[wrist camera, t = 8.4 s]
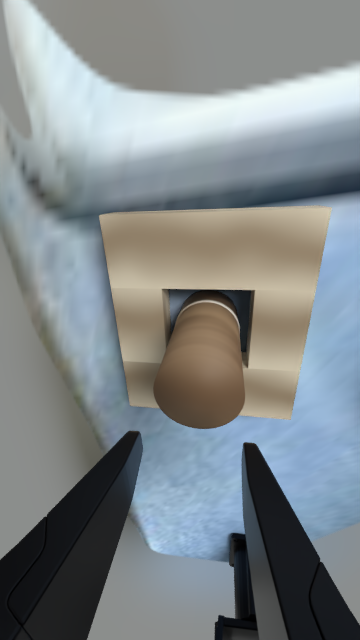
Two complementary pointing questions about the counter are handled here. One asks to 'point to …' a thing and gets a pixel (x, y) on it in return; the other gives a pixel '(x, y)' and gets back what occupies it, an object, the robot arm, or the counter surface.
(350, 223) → the counter surface
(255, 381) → the board
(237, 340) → the peg
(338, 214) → the counter surface
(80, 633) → the robot arm
